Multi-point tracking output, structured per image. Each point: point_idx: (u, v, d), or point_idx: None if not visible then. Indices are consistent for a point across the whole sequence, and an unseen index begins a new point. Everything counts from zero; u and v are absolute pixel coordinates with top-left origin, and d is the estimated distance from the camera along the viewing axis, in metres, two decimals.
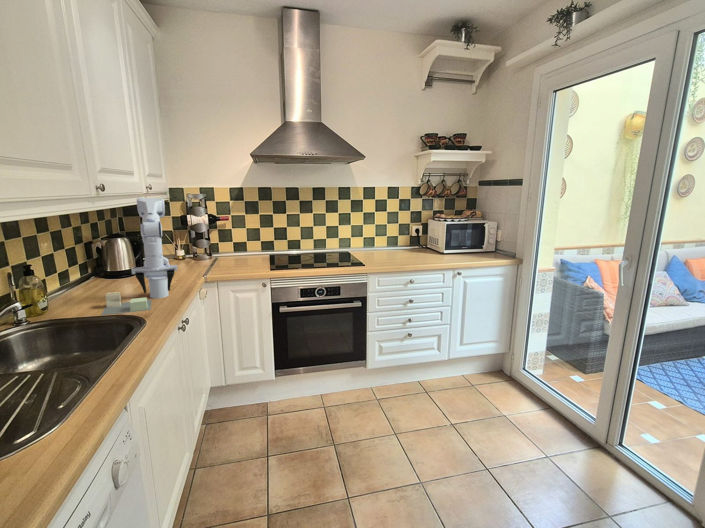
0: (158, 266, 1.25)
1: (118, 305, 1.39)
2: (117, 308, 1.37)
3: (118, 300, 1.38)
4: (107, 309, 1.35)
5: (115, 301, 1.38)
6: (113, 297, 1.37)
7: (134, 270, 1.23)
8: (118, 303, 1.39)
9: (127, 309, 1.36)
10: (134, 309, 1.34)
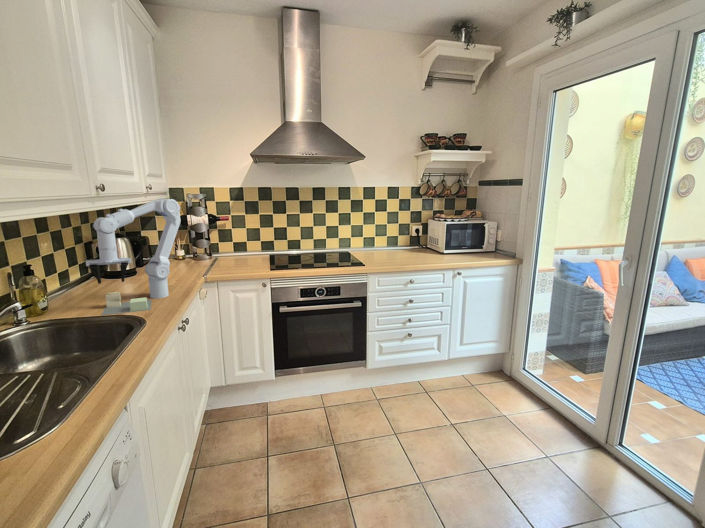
0: (111, 258, 1.34)
1: (118, 305, 1.39)
2: (117, 308, 1.37)
3: (118, 300, 1.38)
4: (107, 309, 1.35)
5: (115, 301, 1.38)
6: (113, 297, 1.37)
7: (88, 262, 1.32)
8: (118, 303, 1.39)
9: (127, 309, 1.36)
10: (134, 309, 1.34)
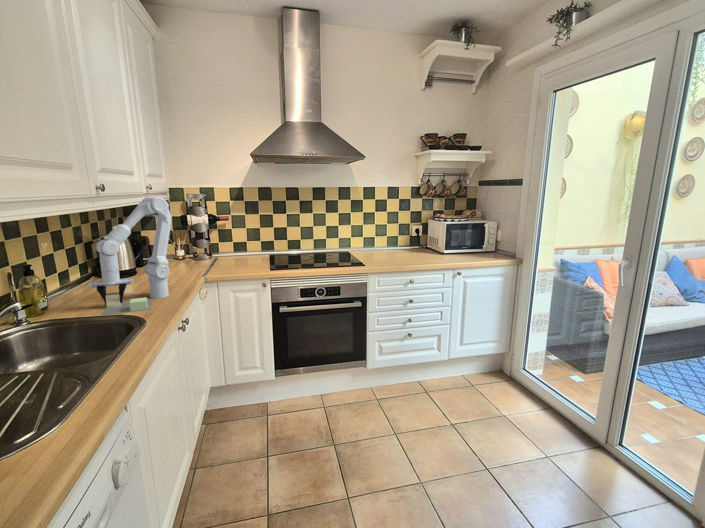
0: (114, 280, 1.36)
1: (118, 305, 1.39)
2: (117, 308, 1.37)
3: (118, 300, 1.38)
4: (107, 309, 1.35)
5: (115, 301, 1.38)
6: (113, 297, 1.37)
7: (91, 284, 1.34)
8: (118, 303, 1.39)
9: (127, 309, 1.36)
10: (134, 309, 1.34)
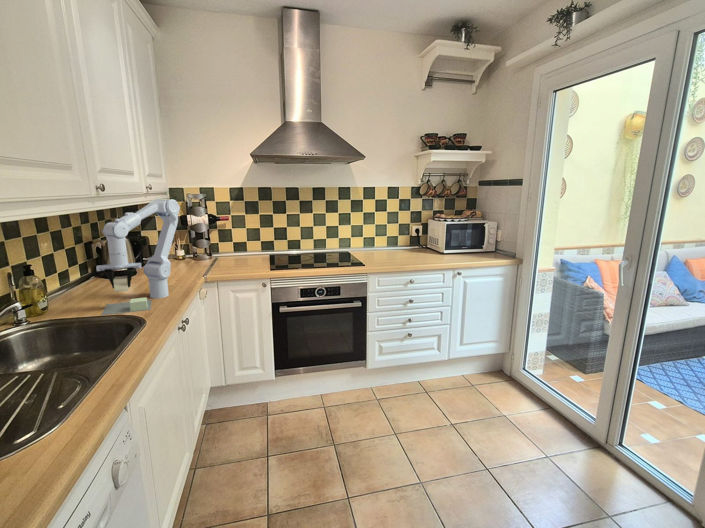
0: (121, 264, 1.34)
1: (126, 289, 1.36)
2: (117, 308, 1.37)
3: (126, 284, 1.36)
4: (107, 309, 1.35)
5: (123, 285, 1.36)
6: (121, 280, 1.35)
7: (99, 267, 1.32)
8: (126, 287, 1.36)
9: (127, 309, 1.36)
10: (134, 309, 1.34)
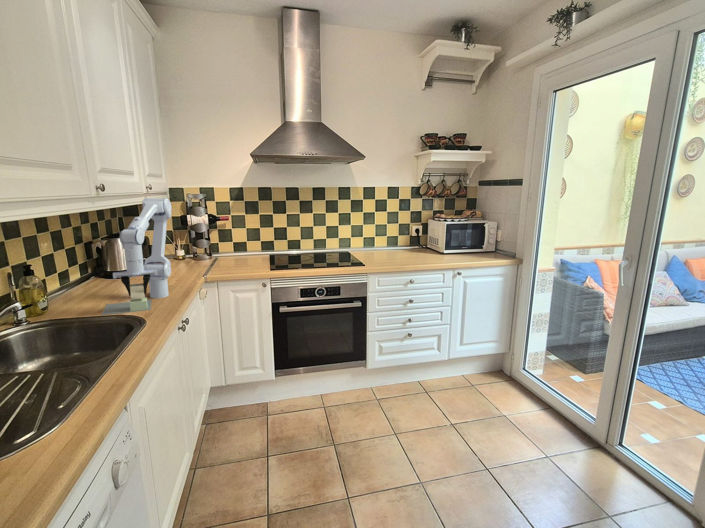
0: (138, 271, 1.33)
1: (142, 296, 1.35)
2: (117, 308, 1.37)
3: (142, 291, 1.35)
4: (107, 309, 1.35)
5: (139, 292, 1.34)
6: (137, 288, 1.34)
7: (115, 274, 1.31)
8: (142, 294, 1.35)
9: (127, 309, 1.36)
10: (134, 309, 1.34)
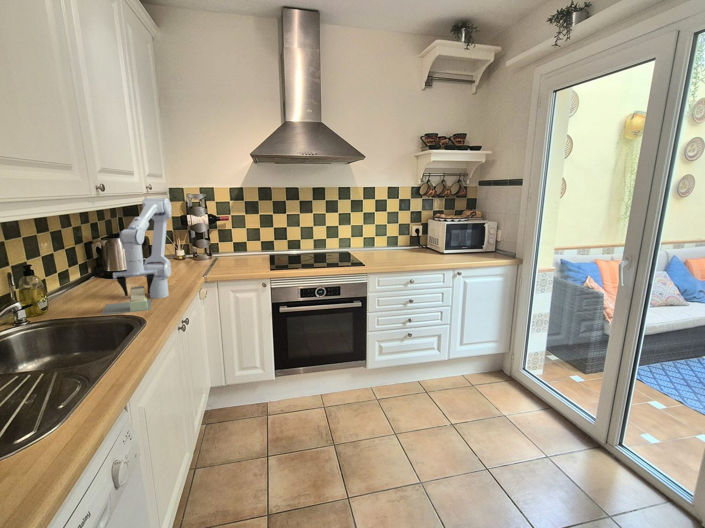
0: (138, 271, 1.33)
1: (142, 299, 1.35)
2: (117, 308, 1.37)
3: (143, 294, 1.35)
4: (107, 309, 1.35)
5: (140, 295, 1.35)
6: (138, 290, 1.34)
7: (115, 274, 1.31)
8: (142, 297, 1.35)
9: (127, 309, 1.36)
10: (134, 309, 1.34)
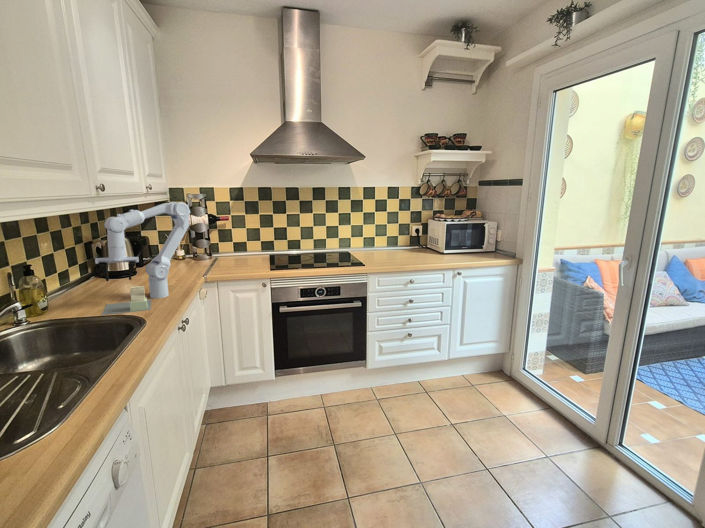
0: (120, 257, 1.38)
1: (142, 299, 1.35)
2: (117, 308, 1.37)
3: (143, 294, 1.35)
4: (107, 309, 1.35)
5: (140, 295, 1.35)
6: (138, 290, 1.34)
7: (97, 260, 1.36)
8: (142, 297, 1.35)
9: (127, 309, 1.36)
10: (134, 309, 1.34)
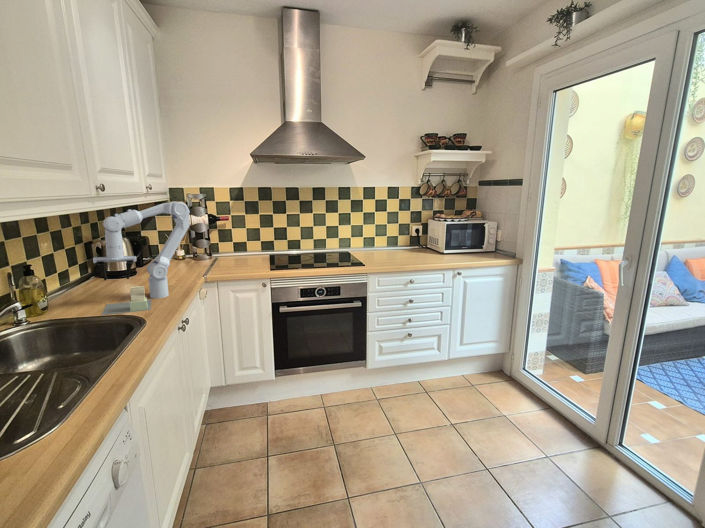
0: (117, 256, 1.40)
1: (142, 299, 1.35)
2: (117, 308, 1.37)
3: (143, 294, 1.35)
4: (107, 309, 1.35)
5: (140, 295, 1.35)
6: (138, 290, 1.34)
7: (95, 259, 1.37)
8: (142, 297, 1.35)
9: (127, 309, 1.36)
10: (134, 309, 1.34)
